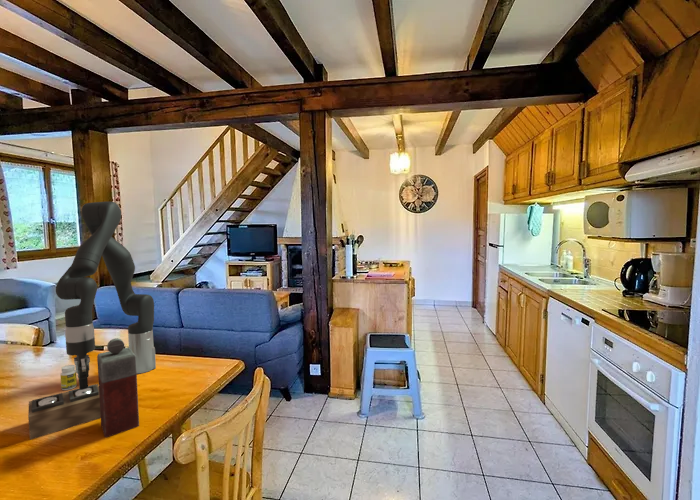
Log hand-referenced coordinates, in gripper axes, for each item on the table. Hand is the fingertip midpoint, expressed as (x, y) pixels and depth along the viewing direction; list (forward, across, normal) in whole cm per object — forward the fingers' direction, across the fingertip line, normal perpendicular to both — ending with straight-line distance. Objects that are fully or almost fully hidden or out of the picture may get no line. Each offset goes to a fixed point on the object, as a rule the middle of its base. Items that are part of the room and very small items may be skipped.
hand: (83, 388), depth 115 cm
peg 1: (+8, 0, +9) cm, 12 cm away
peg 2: (+8, 0, 0) cm, 8 cm away
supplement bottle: (+9, +28, +3) cm, 30 cm away
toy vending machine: (+9, -14, -7) cm, 18 cm away
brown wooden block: (+9, 0, +5) cm, 10 cm away
